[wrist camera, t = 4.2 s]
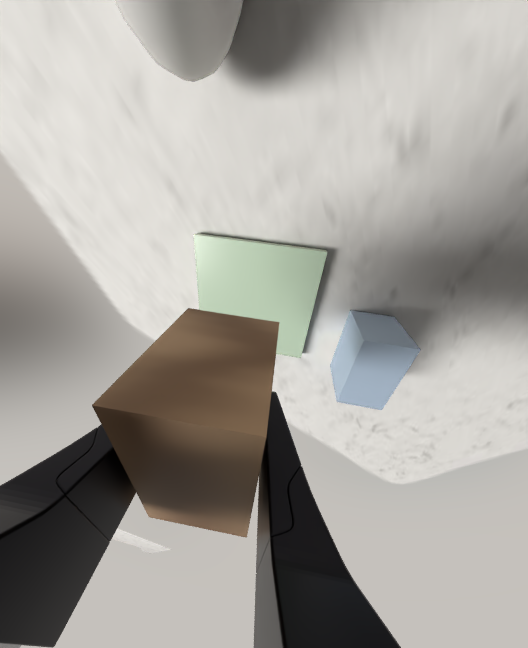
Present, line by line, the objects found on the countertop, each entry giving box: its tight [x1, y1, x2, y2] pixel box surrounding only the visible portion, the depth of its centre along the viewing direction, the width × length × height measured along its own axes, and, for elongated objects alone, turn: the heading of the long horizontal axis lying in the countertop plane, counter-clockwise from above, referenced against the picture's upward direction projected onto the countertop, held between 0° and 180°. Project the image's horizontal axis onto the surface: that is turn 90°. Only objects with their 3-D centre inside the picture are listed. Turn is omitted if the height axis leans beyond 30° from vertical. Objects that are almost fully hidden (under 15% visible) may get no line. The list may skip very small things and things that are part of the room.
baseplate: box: [194, 233, 327, 358], centre depth 20 cm, size 11×11×1 cm
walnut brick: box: [92, 308, 280, 537], centre depth 8 cm, size 4×7×5 cm, turn 174°
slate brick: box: [330, 310, 421, 410], centre depth 19 cm, size 4×7×5 cm, turn 174°
